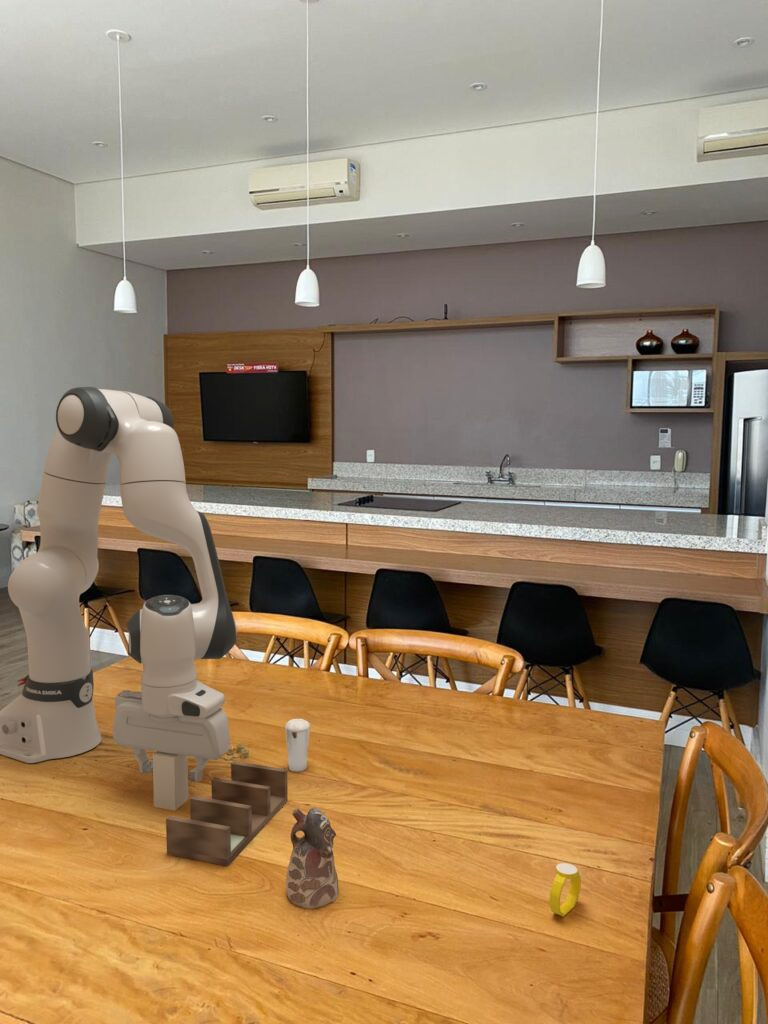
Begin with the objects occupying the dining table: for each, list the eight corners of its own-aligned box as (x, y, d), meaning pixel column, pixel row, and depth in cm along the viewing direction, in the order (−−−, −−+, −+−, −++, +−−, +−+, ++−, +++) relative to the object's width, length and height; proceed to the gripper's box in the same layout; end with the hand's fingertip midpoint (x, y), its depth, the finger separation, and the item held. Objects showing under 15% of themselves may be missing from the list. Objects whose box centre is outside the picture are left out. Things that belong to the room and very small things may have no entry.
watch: (565, 898, 109) (568, 856, 108) (584, 907, 107) (587, 863, 106) (543, 915, 104) (546, 871, 104) (562, 924, 102) (565, 879, 102)
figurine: (331, 912, 105) (331, 825, 103) (279, 905, 106) (278, 819, 104) (343, 881, 112) (344, 799, 110) (294, 875, 113) (294, 794, 111)
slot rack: (166, 854, 118) (165, 818, 117) (234, 791, 138) (233, 761, 137) (227, 866, 115) (227, 830, 114) (287, 800, 135) (287, 769, 134)
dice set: (219, 753, 154) (219, 744, 154) (246, 750, 156) (246, 741, 156) (221, 764, 150) (221, 754, 149) (249, 761, 151) (249, 752, 151)
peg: (154, 806, 132) (152, 754, 131) (167, 795, 136) (166, 745, 135) (175, 810, 131) (174, 757, 130) (188, 799, 135) (187, 748, 134)
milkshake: (310, 775, 144) (310, 721, 143) (281, 772, 145) (281, 719, 144) (317, 764, 149) (317, 712, 147) (289, 761, 150) (289, 710, 149)
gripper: (103, 694, 131) (106, 775, 133) (214, 709, 125) (216, 793, 127) (126, 682, 137) (128, 759, 139) (233, 696, 131) (234, 776, 133)
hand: (171, 776), depth 133 cm, fingers open, 8 cm apart
